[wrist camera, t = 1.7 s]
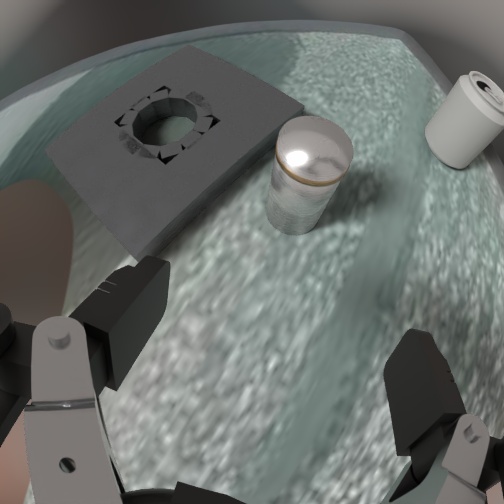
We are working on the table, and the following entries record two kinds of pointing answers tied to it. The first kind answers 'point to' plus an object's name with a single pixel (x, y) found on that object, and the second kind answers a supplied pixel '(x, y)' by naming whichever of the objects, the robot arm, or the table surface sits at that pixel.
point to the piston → (306, 172)
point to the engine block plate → (169, 146)
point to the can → (466, 120)
